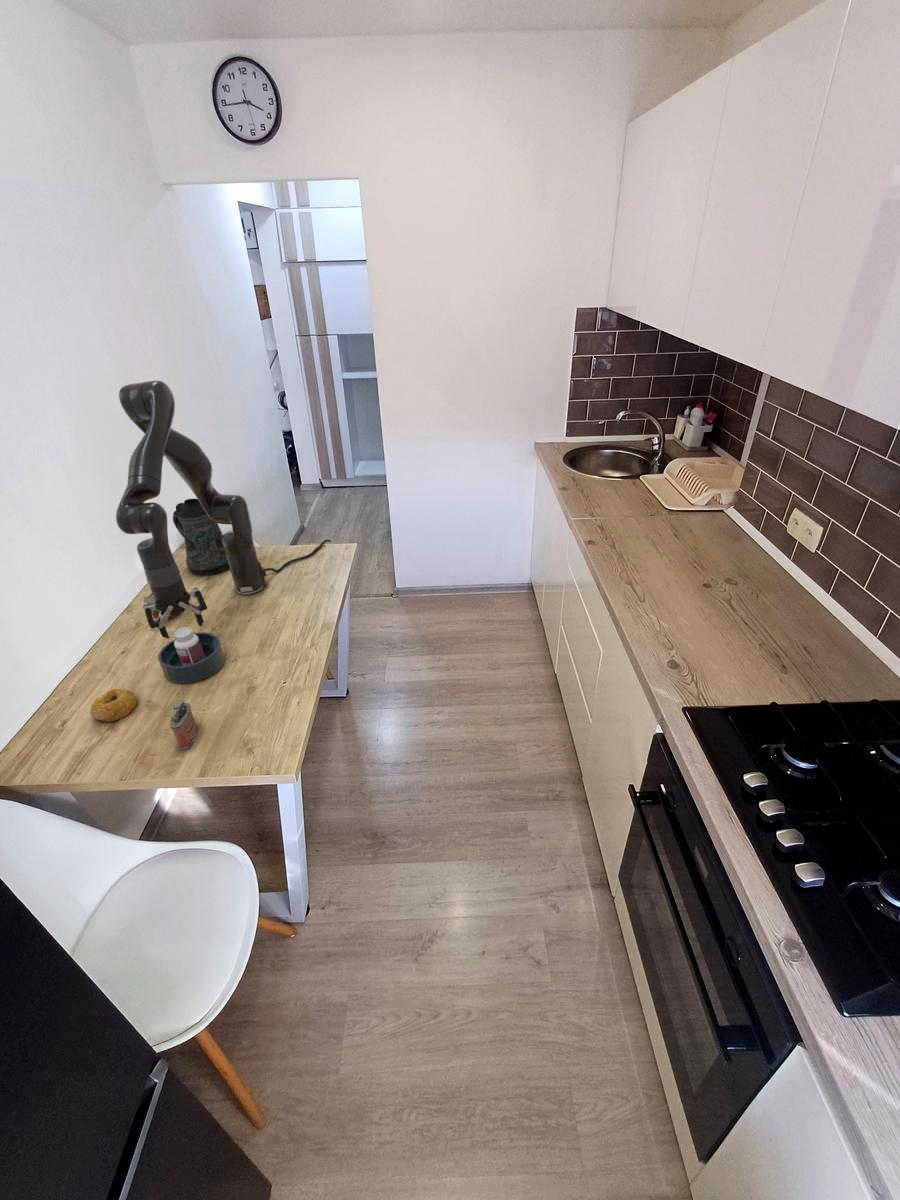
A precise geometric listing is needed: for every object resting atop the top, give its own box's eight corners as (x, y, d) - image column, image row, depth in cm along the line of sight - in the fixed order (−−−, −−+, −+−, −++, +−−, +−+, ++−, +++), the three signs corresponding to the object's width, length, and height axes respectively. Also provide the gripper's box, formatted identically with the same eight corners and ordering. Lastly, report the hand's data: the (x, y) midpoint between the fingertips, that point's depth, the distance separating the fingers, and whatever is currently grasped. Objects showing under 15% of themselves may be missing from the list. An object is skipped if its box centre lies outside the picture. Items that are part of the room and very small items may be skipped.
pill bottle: (205, 654, 161) (194, 622, 155) (207, 667, 156) (196, 634, 150) (182, 661, 159) (169, 629, 153) (183, 674, 154) (171, 641, 148)
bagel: (147, 697, 148) (141, 683, 145) (118, 727, 139) (111, 713, 136) (114, 693, 150) (108, 679, 147) (84, 722, 141) (76, 708, 138)
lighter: (187, 726, 138) (174, 695, 133) (201, 725, 138) (189, 693, 133) (176, 751, 131) (162, 719, 126) (191, 750, 131) (178, 718, 126)
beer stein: (227, 575, 201) (208, 509, 188) (173, 578, 201) (150, 512, 188) (241, 553, 215) (224, 491, 202) (190, 556, 215) (170, 493, 202)
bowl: (215, 642, 167) (210, 625, 164) (233, 669, 156) (227, 651, 153) (159, 664, 159) (152, 647, 156) (173, 693, 148) (166, 675, 145)
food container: (170, 626, 175) (160, 599, 170) (153, 624, 176) (142, 597, 171) (193, 605, 185) (184, 578, 180) (176, 603, 187) (167, 577, 181)
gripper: (137, 594, 137) (159, 648, 145) (197, 574, 143) (215, 627, 152) (130, 582, 142) (152, 634, 151) (189, 563, 149) (206, 614, 157)
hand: (184, 630), depth 151 cm, fingers open, 8 cm apart
